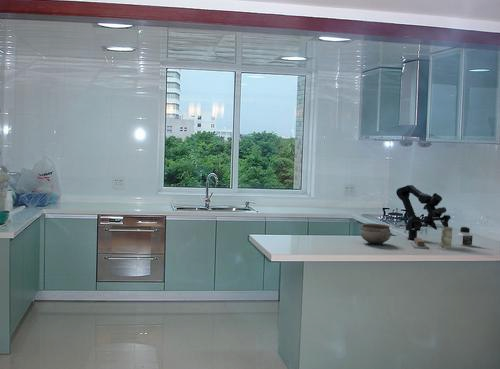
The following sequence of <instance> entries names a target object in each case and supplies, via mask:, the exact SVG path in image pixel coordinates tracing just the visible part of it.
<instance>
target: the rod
mask: <svg viewBox="0 0 500 369" xmlns="http://www.w3.org/2000/svg"><path fill="white" fill-rule="evenodd" d="M440 240H441V241H440V248H444V249H452V241H453V227H449V226H448V227H444V226H441V237H440Z"/></svg>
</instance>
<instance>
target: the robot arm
mask: <svg viewBox="0 0 500 369" xmlns="http://www.w3.org/2000/svg"><path fill="white" fill-rule="evenodd" d="M395 193H396V196H397V198H398V199H399V200H401V201H402V204H403V206H404V209H405V212H406V215H407V217H408V219H407V220H408V221H407V223H408V224H407V225H405V230H406V231H408V237H406V238H407V240H408V241H409V240H410V241H412V240H413V241H414V238H418V232H420V231H421V229H422V227H423V226H422V225H423V224H425V225H427V226H429V227H431V229H434V230H435V231H437V230H438V227H437V225H436V223H435V222H439V221H440V223H441V225H442V227H449V221H450V220H451V219H452V218H451V215H449V214H445V213H446V212H447V208H446V207H445V206H443V207H438V205H439V204H440V203H441V202H442V200H443V197H442V196H441V195H440V194H438V193H436V192H435V193H433V194H432V196H431V195H430V194H427V193H423V192H422V191H421V190H420V189H418V188H417V187H415V186H414V185H413V184H411V185H410V184H407V185H405V186H403V187H398V188H397V189H396V192H395ZM410 195H413V196H414V197H416V198H417V199H418V201H419V203H420V204H423V205H424V206H423V209H422V210H426V212H427V214H426V215H425V216H424V218H422V220H421V217H420V216H417V215H416V213H415V210H414V207H413V205H412V203H411V200H410ZM443 214H444V215H443ZM441 216H442V217H441Z"/></svg>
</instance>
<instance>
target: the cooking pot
mask: <svg viewBox="0 0 500 369" xmlns="http://www.w3.org/2000/svg"><path fill="white" fill-rule="evenodd" d="M362 225H363V226H362V227H360V228H359V230H360V236H361V238H362V239H363V240H364V241H365V242H367V243H368V244H369V245H373V244H374V246H379V245H381V244H384V243H386V242H387V241H389V240H390V238H391V236H392V235H393V232H391V229H390V227H391V225H388V224H384V223H374V222H373V223H369V222H368V223H362Z"/></svg>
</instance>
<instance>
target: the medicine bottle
mask: <svg viewBox="0 0 500 369" xmlns="http://www.w3.org/2000/svg"><path fill="white" fill-rule="evenodd" d="M470 233H471V228H470V227H467V226H461V227H460V230H459V233H456V235H457V236H456V245H459V246H463V247H471V246H472V247H473V237H474V236H473V234H470Z"/></svg>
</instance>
